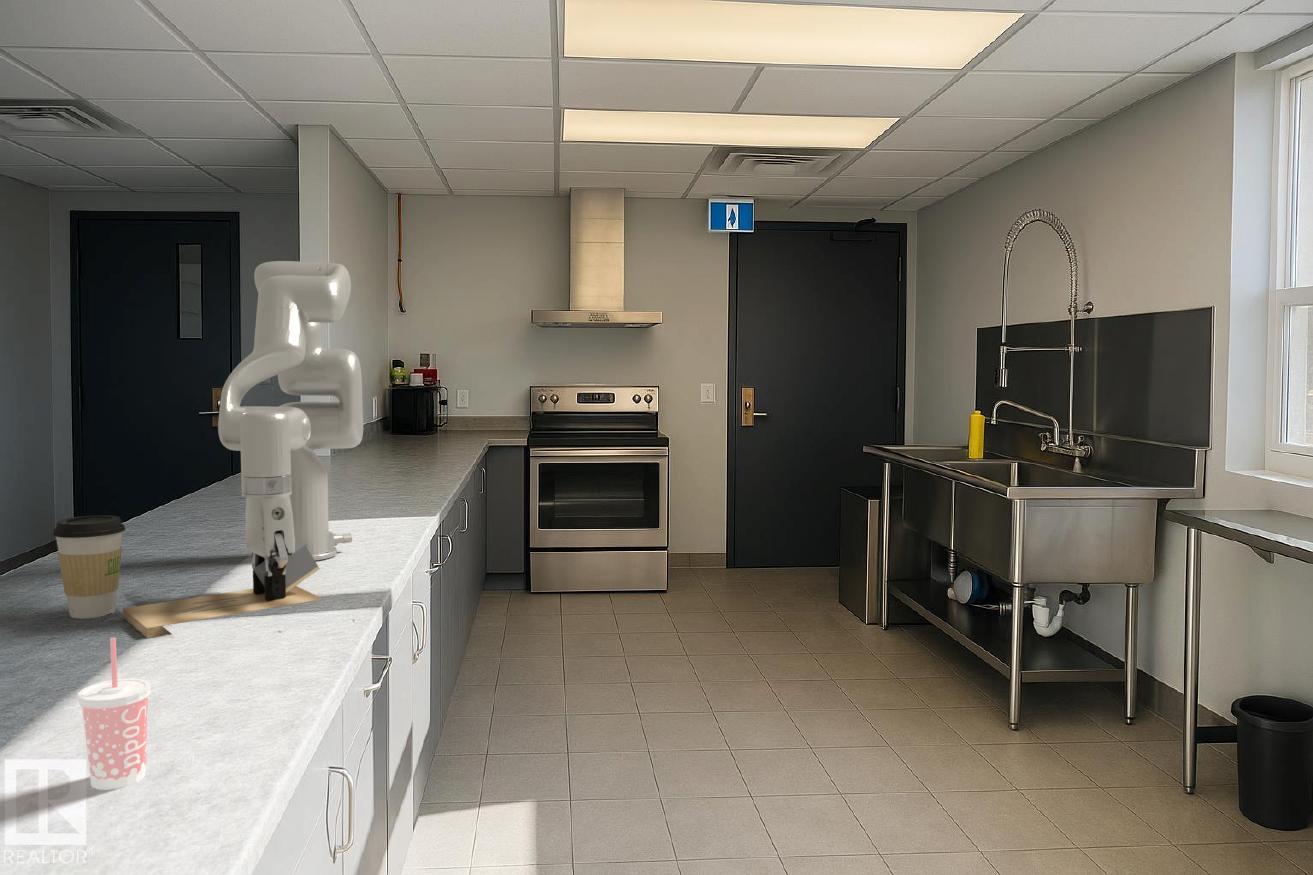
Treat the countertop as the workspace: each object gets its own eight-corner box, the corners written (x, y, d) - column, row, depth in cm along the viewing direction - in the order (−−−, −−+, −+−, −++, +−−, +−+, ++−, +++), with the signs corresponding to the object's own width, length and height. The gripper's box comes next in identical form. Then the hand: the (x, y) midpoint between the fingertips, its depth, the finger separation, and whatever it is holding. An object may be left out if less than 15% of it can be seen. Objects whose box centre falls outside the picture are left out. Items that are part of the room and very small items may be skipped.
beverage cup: (94, 799, 87) (88, 651, 85) (72, 779, 91) (66, 638, 90) (164, 778, 91) (159, 637, 90) (140, 759, 95) (135, 625, 94)
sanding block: (309, 564, 161) (294, 540, 159) (319, 568, 157) (305, 544, 155) (268, 592, 156) (252, 568, 154) (278, 598, 153) (262, 573, 151)
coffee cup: (142, 608, 152) (139, 516, 150) (88, 624, 142) (84, 527, 141) (97, 602, 155) (93, 512, 154) (40, 618, 146) (36, 522, 144)
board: (290, 591, 164) (290, 582, 163) (323, 607, 153) (322, 598, 153) (123, 617, 146) (123, 608, 146) (147, 638, 136) (146, 627, 136)
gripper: (309, 490, 149) (312, 602, 150) (271, 478, 161) (274, 582, 163) (261, 494, 144) (264, 610, 146) (225, 482, 156) (228, 589, 158)
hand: (269, 594), depth 154 cm, fingers closed on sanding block, 4 cm apart
